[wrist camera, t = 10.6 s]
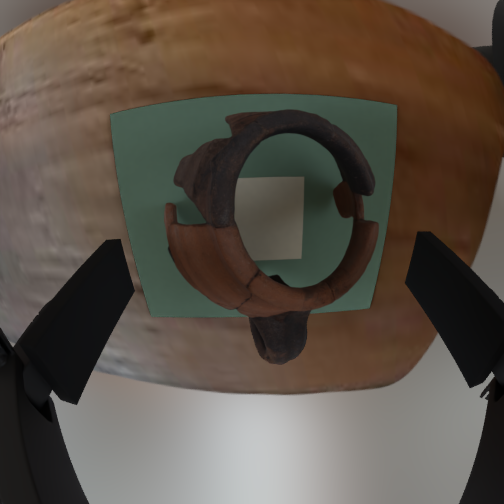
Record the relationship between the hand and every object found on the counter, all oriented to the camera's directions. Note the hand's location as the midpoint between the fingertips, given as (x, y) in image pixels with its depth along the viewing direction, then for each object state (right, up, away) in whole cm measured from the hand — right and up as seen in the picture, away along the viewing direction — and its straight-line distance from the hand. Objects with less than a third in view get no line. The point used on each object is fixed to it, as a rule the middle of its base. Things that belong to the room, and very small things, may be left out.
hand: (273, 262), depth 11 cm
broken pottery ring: (0, +2, +4) cm, 5 cm away
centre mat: (0, +2, +4) cm, 5 cm away
